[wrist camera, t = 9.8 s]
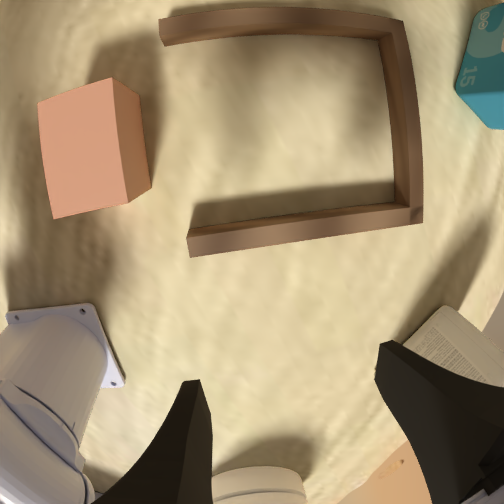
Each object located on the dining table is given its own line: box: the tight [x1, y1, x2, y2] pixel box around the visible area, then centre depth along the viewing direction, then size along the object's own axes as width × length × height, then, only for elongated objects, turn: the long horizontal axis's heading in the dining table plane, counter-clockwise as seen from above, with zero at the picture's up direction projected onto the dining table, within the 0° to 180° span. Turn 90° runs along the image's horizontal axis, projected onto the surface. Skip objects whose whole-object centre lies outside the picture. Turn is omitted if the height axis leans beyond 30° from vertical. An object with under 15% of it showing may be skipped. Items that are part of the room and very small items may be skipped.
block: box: [37, 77, 151, 219], centre depth 14 cm, size 4×6×6 cm
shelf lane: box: [158, 7, 423, 258], centre depth 17 cm, size 16×14×2 cm
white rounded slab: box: [374, 305, 504, 387], centre depth 19 cm, size 10×4×12 cm, turn 137°
